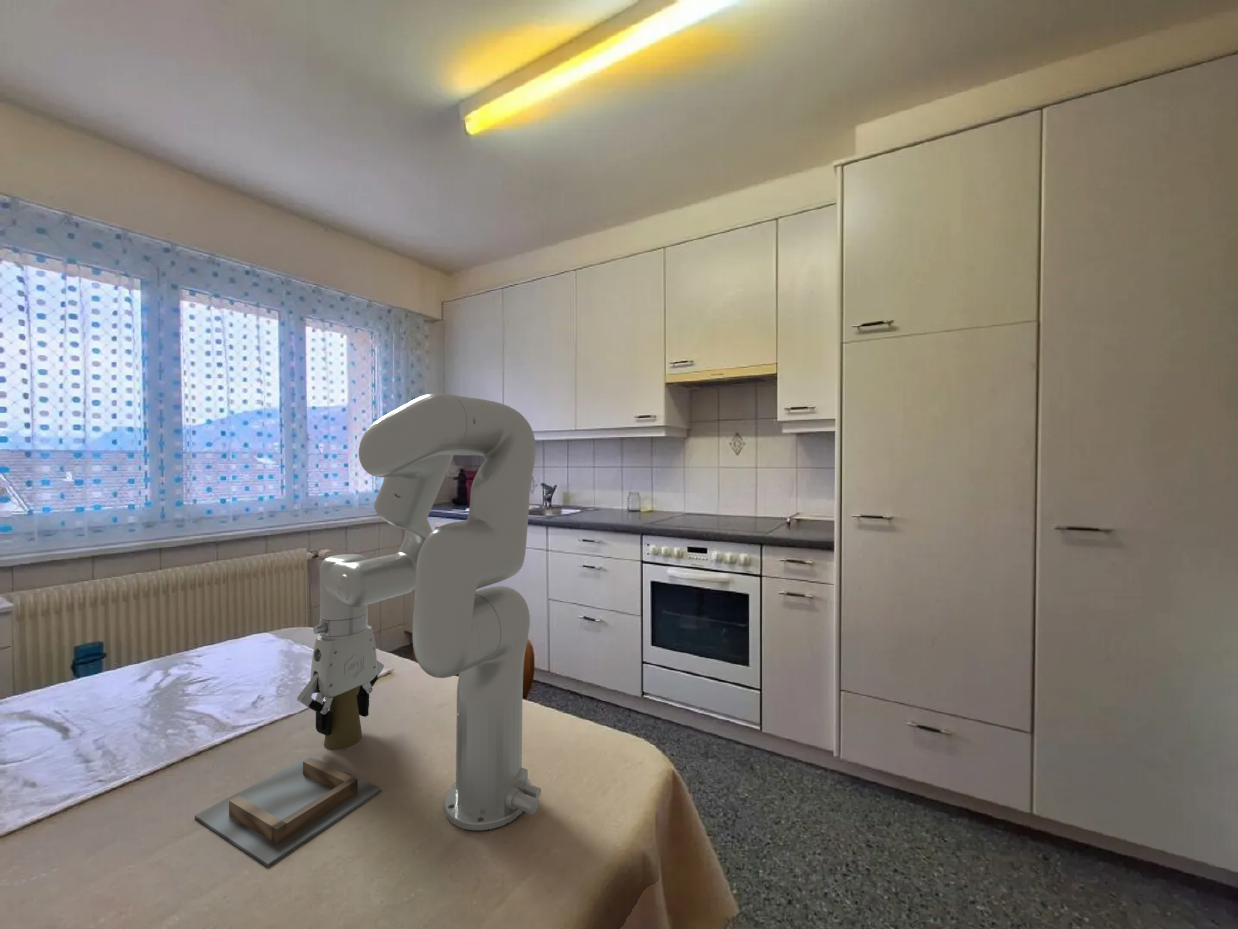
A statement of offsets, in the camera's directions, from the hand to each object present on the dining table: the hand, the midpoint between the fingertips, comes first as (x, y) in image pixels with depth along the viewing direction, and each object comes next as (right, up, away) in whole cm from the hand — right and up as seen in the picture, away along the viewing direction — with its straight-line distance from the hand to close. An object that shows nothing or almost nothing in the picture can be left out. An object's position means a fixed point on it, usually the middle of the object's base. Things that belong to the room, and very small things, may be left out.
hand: (343, 722), depth 89 cm
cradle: (+3, -3, -17) cm, 17 cm away
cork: (0, -3, 0) cm, 3 cm away
